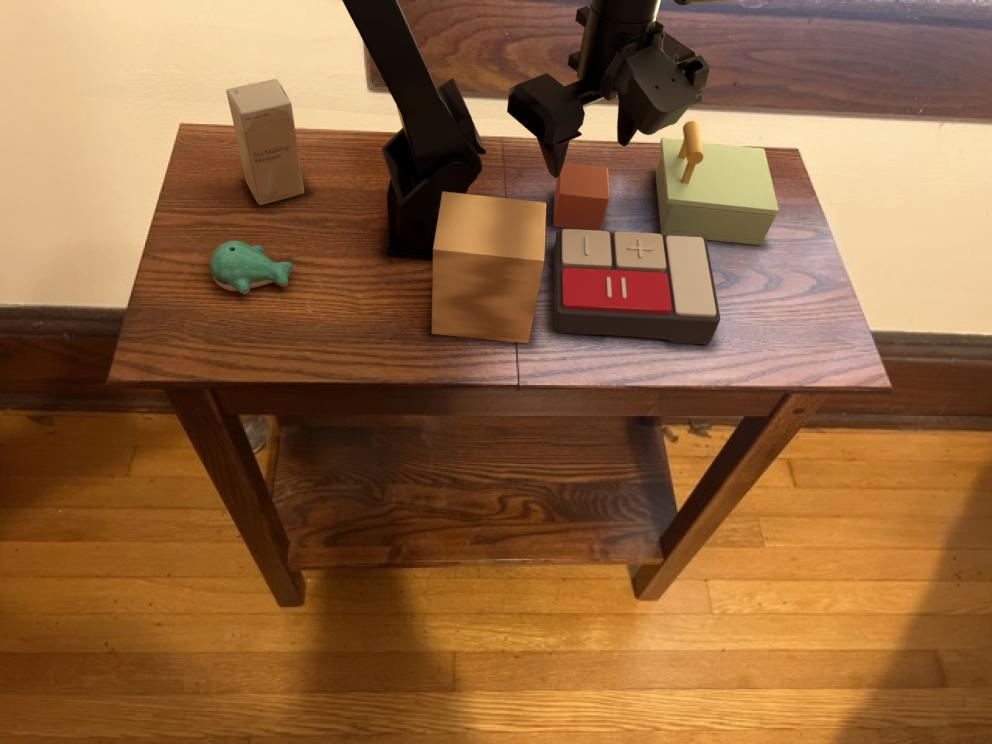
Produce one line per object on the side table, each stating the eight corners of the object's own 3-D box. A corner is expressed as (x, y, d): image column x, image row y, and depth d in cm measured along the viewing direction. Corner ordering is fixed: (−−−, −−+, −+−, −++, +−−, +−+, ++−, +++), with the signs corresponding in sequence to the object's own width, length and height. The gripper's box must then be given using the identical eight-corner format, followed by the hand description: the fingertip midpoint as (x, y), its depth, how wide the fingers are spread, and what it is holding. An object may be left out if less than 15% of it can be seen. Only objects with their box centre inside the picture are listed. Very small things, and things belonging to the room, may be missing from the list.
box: (259, 207, 76) (236, 114, 67) (245, 181, 78) (221, 88, 69) (307, 193, 77) (292, 101, 68) (293, 168, 79) (276, 76, 70)
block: (553, 226, 77) (559, 193, 74) (554, 195, 80) (560, 162, 77) (600, 231, 78) (608, 199, 74) (599, 200, 80) (607, 167, 77)
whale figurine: (226, 251, 72) (217, 222, 68) (300, 262, 72) (295, 233, 68) (205, 296, 68) (195, 267, 65) (283, 307, 68) (277, 279, 65)
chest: (661, 235, 78) (671, 204, 75) (655, 173, 84) (665, 143, 80) (760, 245, 78) (776, 216, 75) (748, 184, 84) (761, 154, 81)
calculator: (557, 222, 72) (708, 230, 72) (552, 254, 76) (697, 261, 76) (557, 307, 66) (724, 316, 66) (553, 337, 69) (711, 345, 69)
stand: (431, 334, 68) (432, 249, 59) (439, 278, 72) (442, 191, 63) (528, 343, 68) (544, 260, 59) (531, 288, 72) (546, 202, 63)
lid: (666, 203, 75) (679, 165, 71) (659, 142, 80) (671, 104, 76) (776, 215, 75) (795, 178, 71) (762, 153, 81) (779, 116, 77)
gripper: (606, 89, 53) (571, 244, 66) (770, 21, 61) (710, 172, 74) (512, 17, 58) (496, 174, 71) (674, -37, 66) (634, 113, 78)
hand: (588, 159), depth 73 cm, fingers open, 9 cm apart
